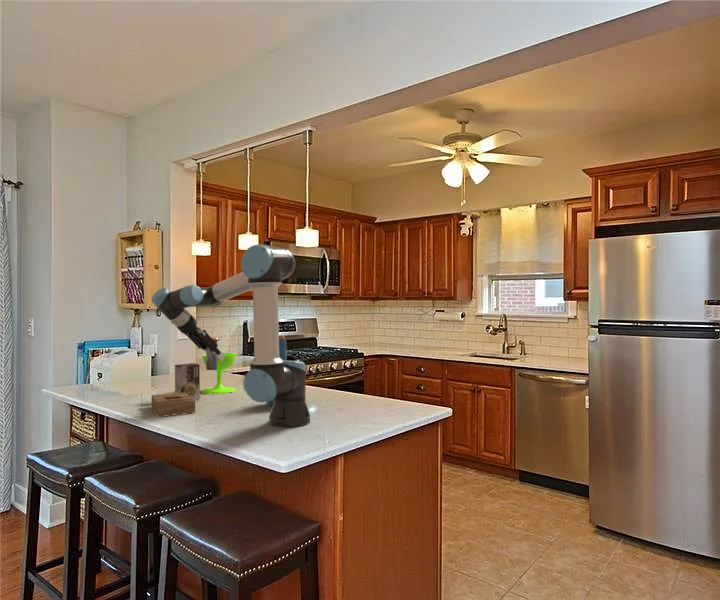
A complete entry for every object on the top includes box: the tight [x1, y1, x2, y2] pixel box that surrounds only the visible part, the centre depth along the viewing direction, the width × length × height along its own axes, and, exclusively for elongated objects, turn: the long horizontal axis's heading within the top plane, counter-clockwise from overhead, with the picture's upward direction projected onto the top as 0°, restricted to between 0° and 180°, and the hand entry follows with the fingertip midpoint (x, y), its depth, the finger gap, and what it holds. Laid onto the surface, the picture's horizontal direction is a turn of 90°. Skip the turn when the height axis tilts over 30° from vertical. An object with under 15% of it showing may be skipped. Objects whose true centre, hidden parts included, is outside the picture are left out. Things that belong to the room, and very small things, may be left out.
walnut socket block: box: [151, 392, 196, 417], centre depth 218 cm, size 20×14×5 cm
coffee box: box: [174, 362, 201, 401], centre depth 238 cm, size 9×6×16 cm
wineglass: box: [201, 352, 237, 395], centre depth 261 cm, size 16×16×18 cm
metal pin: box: [205, 337, 221, 371], centre depth 222 cm, size 6×6×13 cm
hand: (219, 358), depth 225 cm, fingers closed on metal pin, 4 cm apart
